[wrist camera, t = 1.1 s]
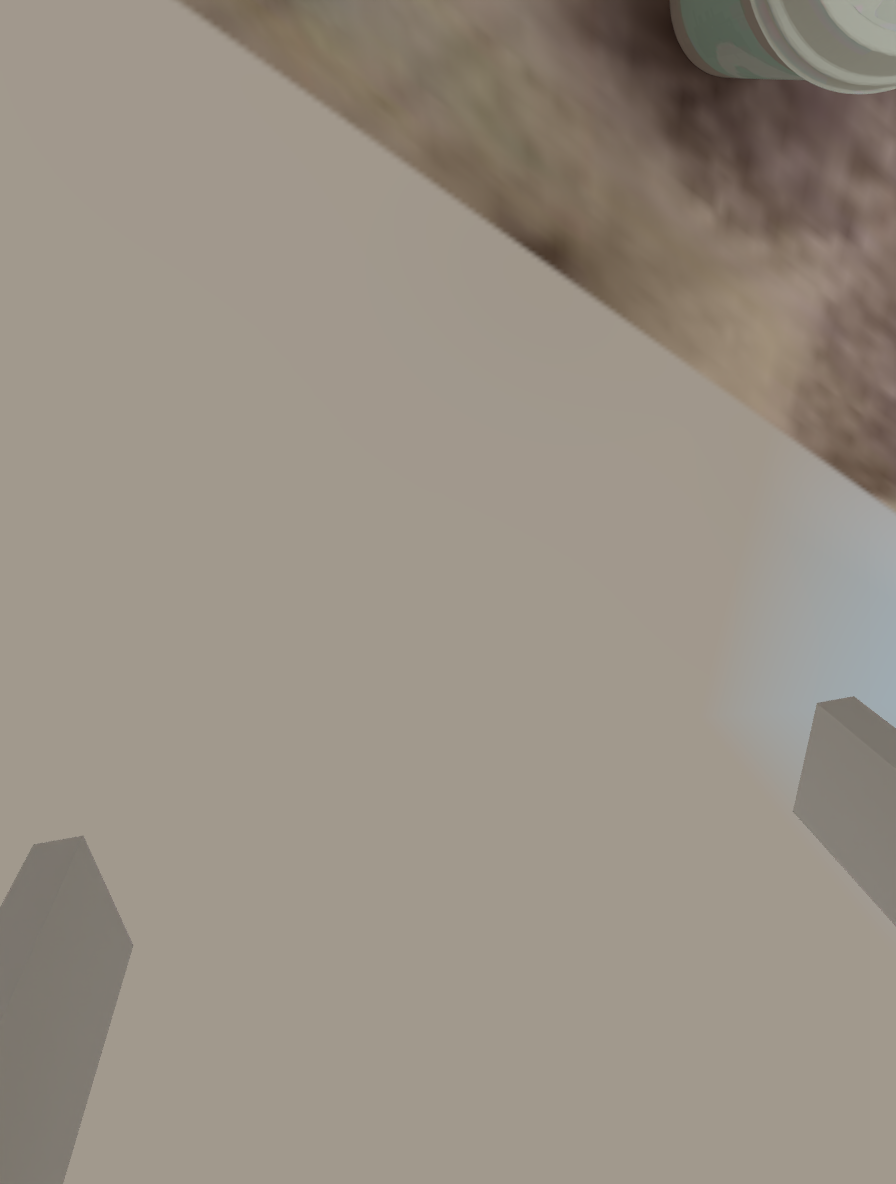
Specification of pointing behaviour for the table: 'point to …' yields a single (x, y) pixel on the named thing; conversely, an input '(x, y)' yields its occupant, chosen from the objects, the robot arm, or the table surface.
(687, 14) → the coffee cup
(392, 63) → the table surface
